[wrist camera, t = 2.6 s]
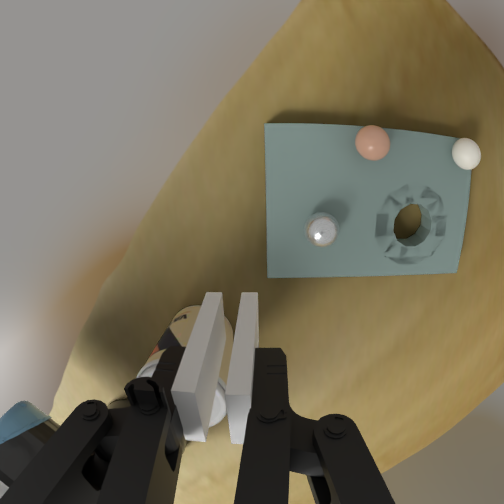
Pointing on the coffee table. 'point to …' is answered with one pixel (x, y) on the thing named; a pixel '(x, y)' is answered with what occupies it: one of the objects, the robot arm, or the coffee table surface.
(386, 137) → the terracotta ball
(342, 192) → the board
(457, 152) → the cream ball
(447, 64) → the coffee table surface
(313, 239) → the steel ball
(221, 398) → the coffee cup
